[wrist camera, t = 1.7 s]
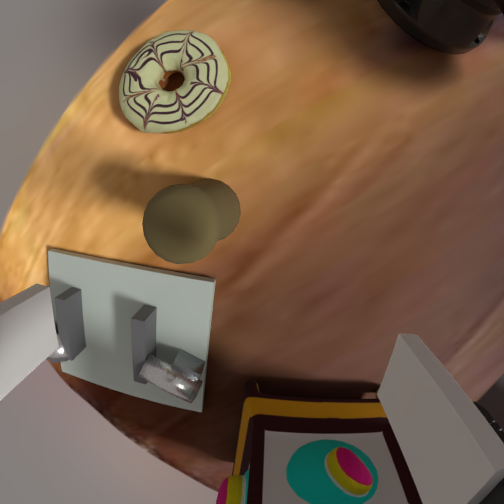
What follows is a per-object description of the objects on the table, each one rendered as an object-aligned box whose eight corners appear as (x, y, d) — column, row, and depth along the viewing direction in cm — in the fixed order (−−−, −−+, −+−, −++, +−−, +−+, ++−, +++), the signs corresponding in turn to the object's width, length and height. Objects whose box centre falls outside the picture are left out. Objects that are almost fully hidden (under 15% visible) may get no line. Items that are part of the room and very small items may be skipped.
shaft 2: (147, 364, 31) (134, 386, 27) (160, 337, 31) (146, 357, 26) (194, 389, 32) (186, 412, 28) (209, 363, 31) (202, 386, 27)
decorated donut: (118, 72, 26) (101, 62, 22) (209, 26, 24) (202, 9, 21) (147, 154, 28) (131, 151, 24) (248, 107, 26) (245, 97, 23)
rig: (53, 248, 30) (29, 257, 26) (215, 278, 30) (206, 295, 25) (66, 366, 34) (49, 384, 30) (203, 406, 34) (196, 431, 29)
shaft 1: (71, 317, 31) (51, 332, 27) (86, 349, 32) (69, 367, 28) (46, 323, 31) (27, 337, 27) (61, 353, 32) (44, 369, 28)
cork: (166, 215, 29) (112, 234, 18) (204, 165, 28) (166, 156, 17) (213, 255, 29) (183, 295, 19) (253, 206, 28) (245, 221, 18)
